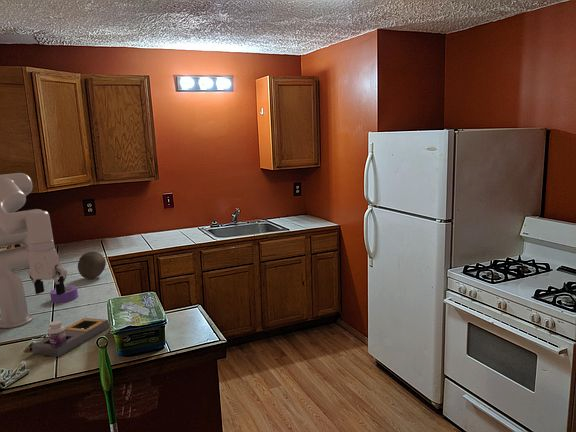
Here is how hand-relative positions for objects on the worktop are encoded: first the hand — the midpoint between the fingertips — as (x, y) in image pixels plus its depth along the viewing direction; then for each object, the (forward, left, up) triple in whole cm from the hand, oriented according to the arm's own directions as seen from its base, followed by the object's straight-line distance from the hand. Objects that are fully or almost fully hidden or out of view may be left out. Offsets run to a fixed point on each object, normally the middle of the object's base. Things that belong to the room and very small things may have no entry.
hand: (50, 293), depth 157 cm
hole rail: (0, +7, -21) cm, 22 cm away
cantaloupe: (-53, +75, -21) cm, 94 cm away
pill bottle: (0, 0, -21) cm, 21 cm away
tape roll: (-42, +44, -21) cm, 64 cm away
